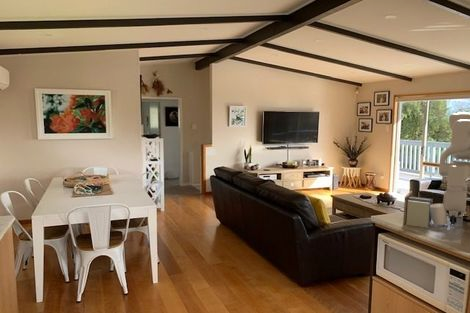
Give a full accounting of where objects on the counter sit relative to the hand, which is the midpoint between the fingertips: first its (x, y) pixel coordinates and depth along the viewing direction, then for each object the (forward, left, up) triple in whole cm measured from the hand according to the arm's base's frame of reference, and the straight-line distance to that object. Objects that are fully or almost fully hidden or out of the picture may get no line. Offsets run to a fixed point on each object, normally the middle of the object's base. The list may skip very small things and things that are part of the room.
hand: (452, 223), depth 180 cm
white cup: (-1, -5, -1) cm, 6 cm away
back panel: (0, -21, -2) cm, 22 cm away
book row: (+7, -15, -2) cm, 17 cm away
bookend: (-9, -16, -2) cm, 18 cm away
